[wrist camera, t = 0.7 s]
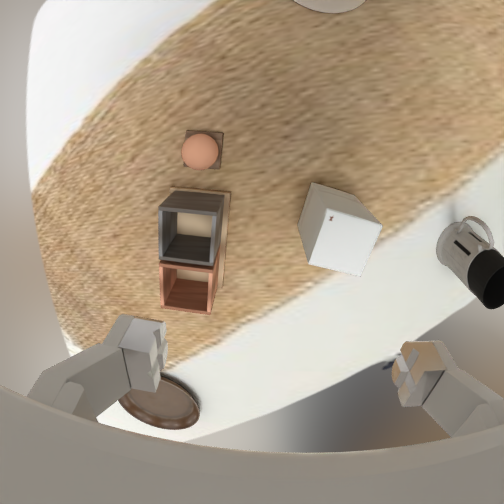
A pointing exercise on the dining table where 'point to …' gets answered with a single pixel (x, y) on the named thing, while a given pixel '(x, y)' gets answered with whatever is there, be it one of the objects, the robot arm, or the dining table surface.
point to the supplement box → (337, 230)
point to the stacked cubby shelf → (192, 248)
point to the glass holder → (473, 261)
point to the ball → (199, 151)
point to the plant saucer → (162, 406)
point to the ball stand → (218, 139)
